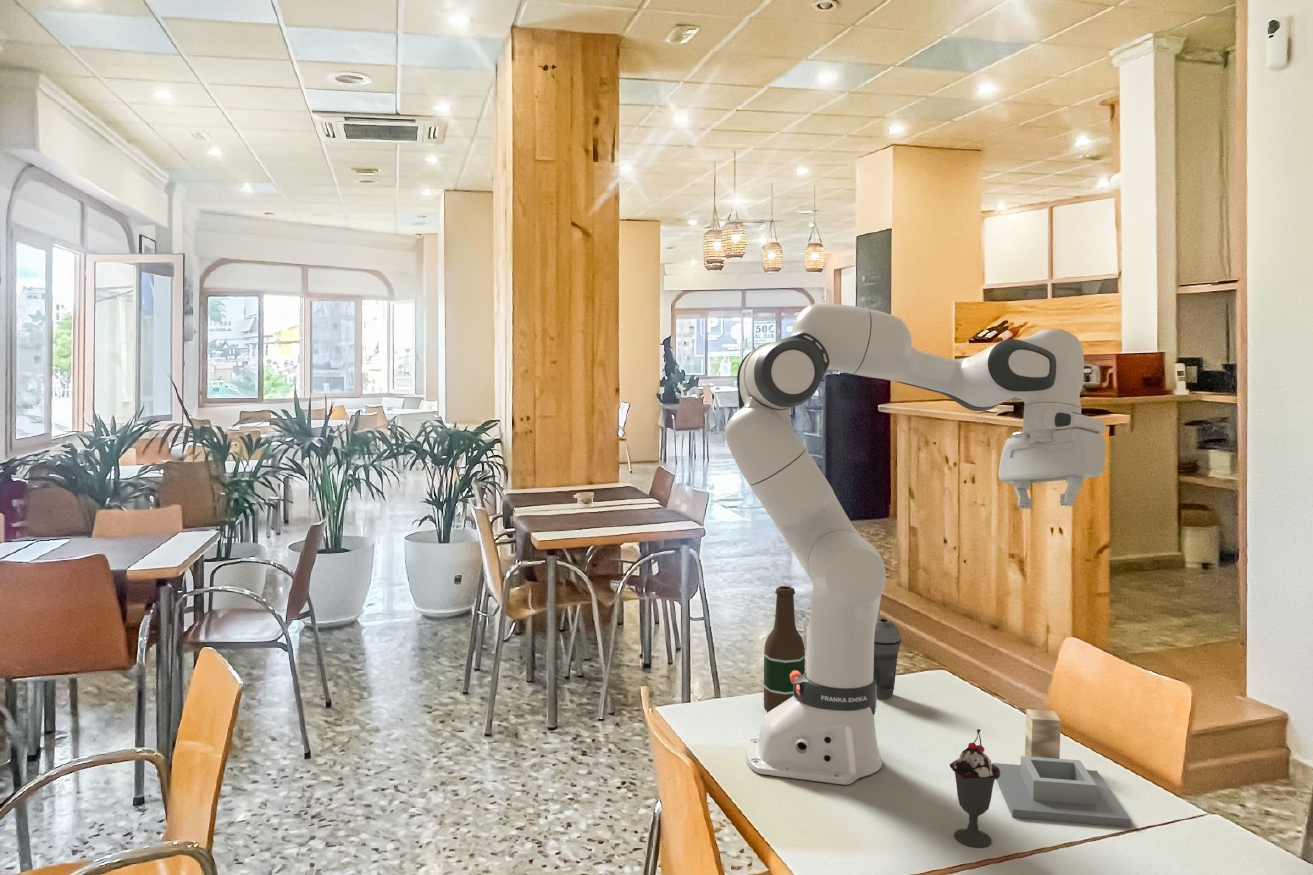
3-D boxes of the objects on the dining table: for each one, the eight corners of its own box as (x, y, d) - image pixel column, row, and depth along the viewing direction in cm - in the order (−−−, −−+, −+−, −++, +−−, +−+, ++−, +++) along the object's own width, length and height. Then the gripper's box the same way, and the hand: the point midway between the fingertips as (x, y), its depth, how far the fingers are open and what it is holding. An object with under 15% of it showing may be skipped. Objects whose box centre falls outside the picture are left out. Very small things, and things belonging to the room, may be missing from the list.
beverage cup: (901, 703, 177) (903, 603, 176) (863, 700, 178) (865, 601, 177) (898, 690, 184) (900, 594, 183) (862, 687, 186) (864, 592, 184)
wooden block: (1030, 765, 149) (1032, 718, 148) (1024, 754, 153) (1026, 709, 152) (1059, 768, 148) (1060, 720, 147) (1052, 756, 152) (1053, 710, 152)
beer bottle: (782, 699, 179) (783, 580, 177) (812, 711, 173) (814, 588, 171) (755, 709, 174) (756, 586, 172) (785, 720, 168) (786, 594, 166)
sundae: (986, 825, 129) (989, 723, 128) (1006, 850, 122) (1009, 743, 121) (940, 826, 128) (943, 724, 127) (958, 851, 122) (961, 743, 121)
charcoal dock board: (1012, 817, 131) (1013, 789, 131) (992, 769, 147) (992, 745, 147) (1130, 827, 128) (1131, 798, 128) (1096, 777, 144) (1097, 752, 144)
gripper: (993, 429, 159) (986, 506, 157) (1083, 413, 140) (1078, 500, 138) (1021, 437, 161) (1015, 513, 159) (1114, 421, 142) (1109, 507, 140)
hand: (1045, 507), depth 148 cm, fingers open, 8 cm apart
